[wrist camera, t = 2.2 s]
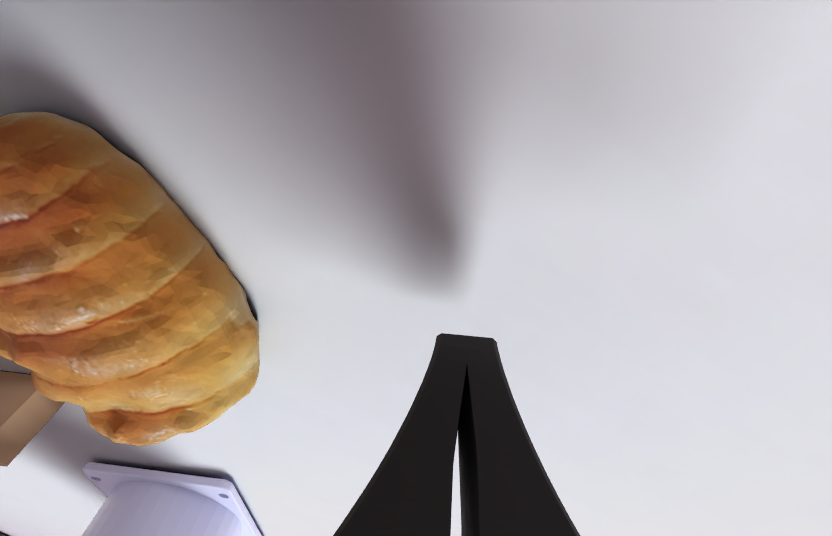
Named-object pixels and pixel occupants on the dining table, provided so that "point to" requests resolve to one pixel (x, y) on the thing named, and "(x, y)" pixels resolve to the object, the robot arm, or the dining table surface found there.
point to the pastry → (114, 288)
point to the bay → (21, 413)
